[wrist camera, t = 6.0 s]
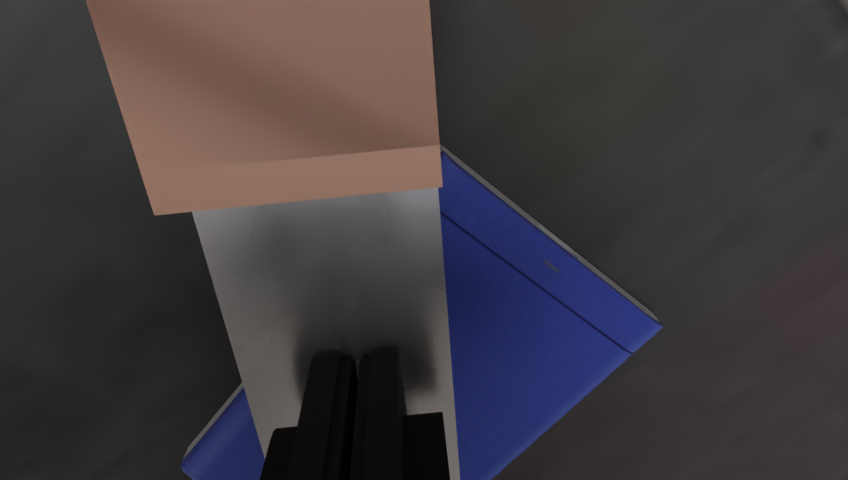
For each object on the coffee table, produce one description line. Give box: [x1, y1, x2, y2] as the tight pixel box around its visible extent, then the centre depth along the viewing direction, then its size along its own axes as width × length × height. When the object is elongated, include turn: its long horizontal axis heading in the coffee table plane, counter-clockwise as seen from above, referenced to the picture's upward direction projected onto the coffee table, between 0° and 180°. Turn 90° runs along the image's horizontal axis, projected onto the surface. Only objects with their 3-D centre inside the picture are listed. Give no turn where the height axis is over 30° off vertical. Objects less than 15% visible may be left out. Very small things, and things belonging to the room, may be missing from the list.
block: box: [86, 0, 443, 215], centre depth 10 cm, size 4×4×6 cm
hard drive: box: [181, 145, 663, 480], centre depth 16 cm, size 2×8×12 cm
